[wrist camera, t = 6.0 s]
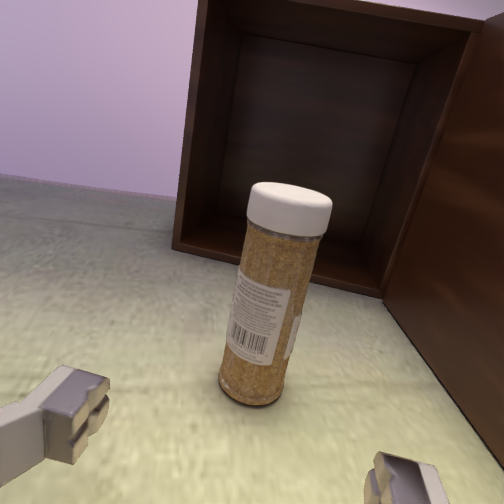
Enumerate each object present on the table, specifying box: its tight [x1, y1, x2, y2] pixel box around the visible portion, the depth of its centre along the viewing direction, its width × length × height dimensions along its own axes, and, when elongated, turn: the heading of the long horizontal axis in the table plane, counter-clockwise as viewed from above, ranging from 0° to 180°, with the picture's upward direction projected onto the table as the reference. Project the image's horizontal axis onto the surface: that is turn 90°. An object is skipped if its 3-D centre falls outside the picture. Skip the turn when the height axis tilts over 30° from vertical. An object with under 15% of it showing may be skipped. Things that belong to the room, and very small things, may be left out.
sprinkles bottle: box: [219, 182, 333, 405], centre depth 21 cm, size 5×5×14 cm
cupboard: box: [171, 0, 485, 299], centre depth 45 cm, size 18×26×28 cm
